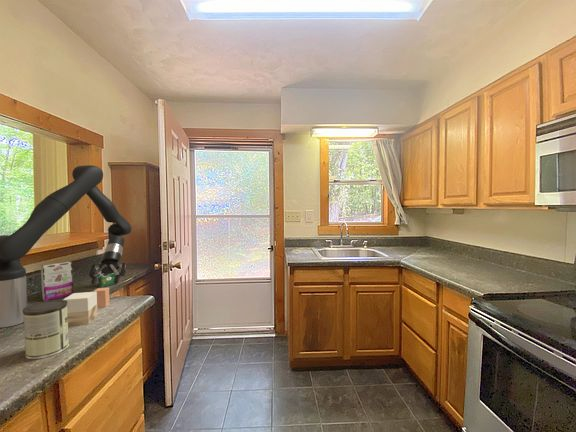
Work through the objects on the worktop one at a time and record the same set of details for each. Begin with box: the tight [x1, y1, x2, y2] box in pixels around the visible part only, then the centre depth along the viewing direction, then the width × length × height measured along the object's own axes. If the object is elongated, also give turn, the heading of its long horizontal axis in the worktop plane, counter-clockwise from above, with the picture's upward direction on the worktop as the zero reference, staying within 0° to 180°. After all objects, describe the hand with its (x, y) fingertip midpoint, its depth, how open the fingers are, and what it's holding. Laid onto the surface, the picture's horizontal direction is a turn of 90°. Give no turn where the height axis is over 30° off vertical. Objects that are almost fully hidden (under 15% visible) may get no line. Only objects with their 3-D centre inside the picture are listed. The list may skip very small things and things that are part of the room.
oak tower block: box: [67, 304, 99, 327], centre depth 107 cm, size 8×8×5 cm
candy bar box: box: [40, 261, 74, 302], centre depth 135 cm, size 11×5×16 cm, turn 143°
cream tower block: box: [62, 291, 97, 313], centre depth 107 cm, size 8×8×5 cm
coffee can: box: [23, 299, 70, 360], centre depth 85 cm, size 10×10×14 cm
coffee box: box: [97, 262, 115, 288], centre depth 154 cm, size 8×3×13 cm, turn 153°
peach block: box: [92, 286, 111, 309], centre depth 123 cm, size 4×4×8 cm
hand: (104, 284), depth 126 cm, fingers open, 8 cm apart
